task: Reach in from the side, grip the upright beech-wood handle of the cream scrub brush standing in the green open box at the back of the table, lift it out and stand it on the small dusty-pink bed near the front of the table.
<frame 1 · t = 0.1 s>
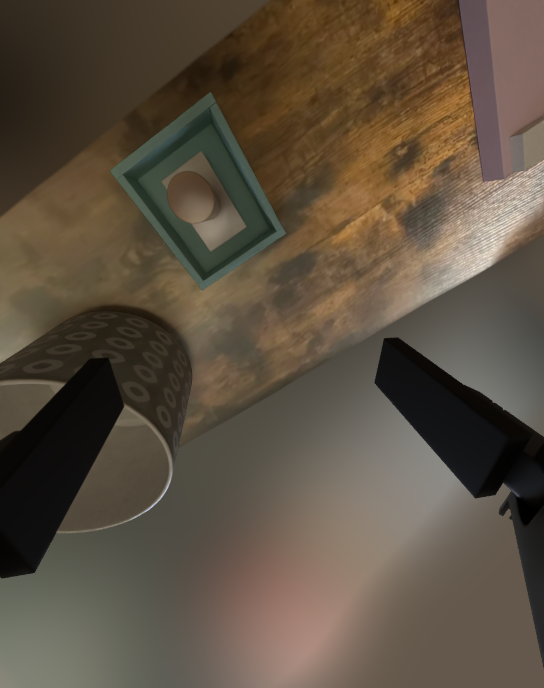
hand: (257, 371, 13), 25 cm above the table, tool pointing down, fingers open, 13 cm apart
planter: (129, 363, 39), on the table
bed: (512, 67, 30), on the table
green open box: (209, 206, 31), on the table
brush: (208, 206, 30), point 1 cm above the table, touching green open box
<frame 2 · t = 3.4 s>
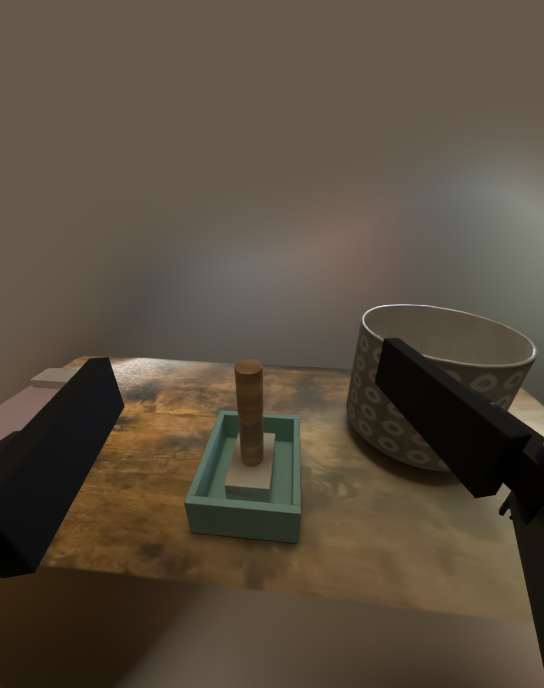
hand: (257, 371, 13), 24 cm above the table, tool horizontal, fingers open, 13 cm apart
planter: (404, 432, 41), on the table
bed: (31, 424, 42), on the table
green open box: (253, 479, 34), on the table
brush: (253, 475, 33), point 1 cm above the table, touching green open box
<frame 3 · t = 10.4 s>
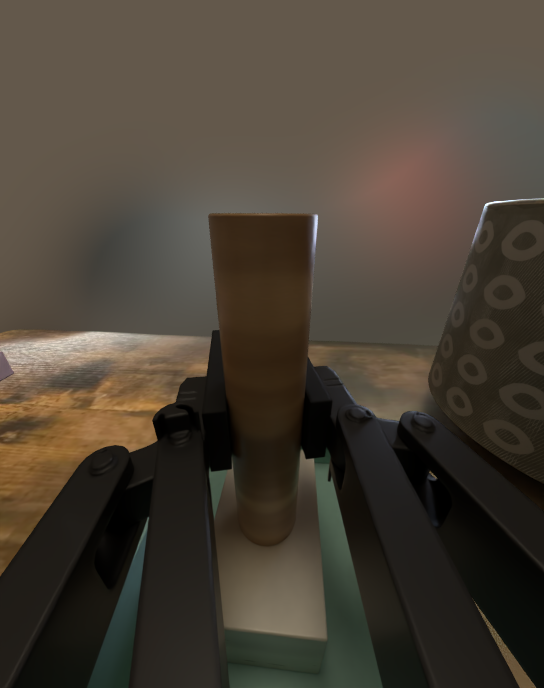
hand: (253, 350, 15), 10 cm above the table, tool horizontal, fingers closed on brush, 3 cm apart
planter: (542, 441, 22), on the table
green open box: (267, 560, 14), on the table
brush: (267, 552, 14), point 1 cm above the table, touching green open box, gripper
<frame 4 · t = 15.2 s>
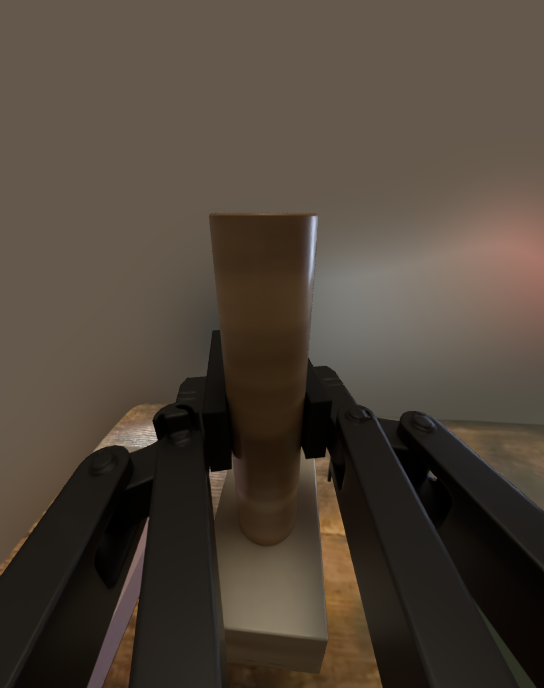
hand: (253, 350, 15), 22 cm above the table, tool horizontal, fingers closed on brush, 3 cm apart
bed: (93, 571, 23), on the table
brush: (267, 552, 14), point 12 cm above the table, touching gripper
when the fingers open (13 cm above the table, at t = 20.0 s): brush stays where it is, resting on bed.
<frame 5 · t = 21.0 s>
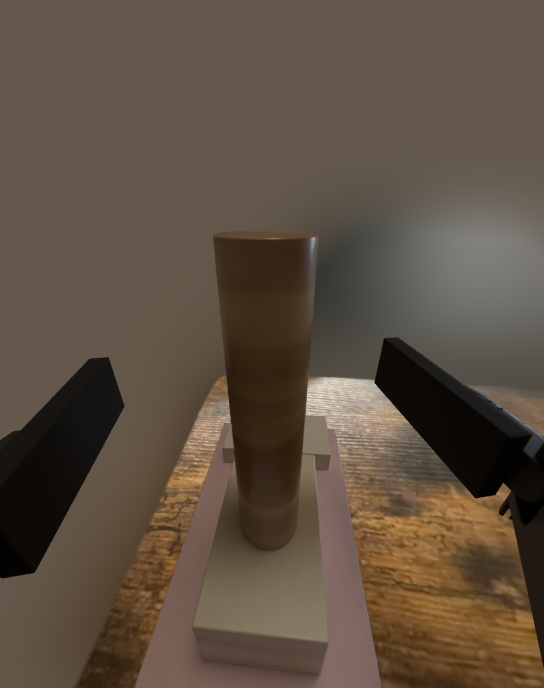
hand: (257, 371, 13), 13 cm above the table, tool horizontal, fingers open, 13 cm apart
bed: (268, 582, 16), on the table
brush: (269, 555, 14), point 3 cm above the table, touching bed
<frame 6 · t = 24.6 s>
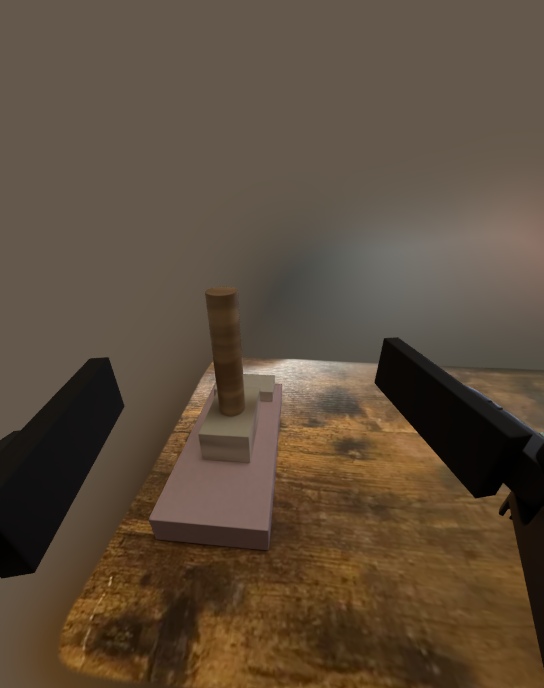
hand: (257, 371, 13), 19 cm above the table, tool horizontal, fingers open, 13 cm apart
bed: (235, 450, 31), on the table
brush: (234, 432, 30), point 3 cm above the table, touching bed
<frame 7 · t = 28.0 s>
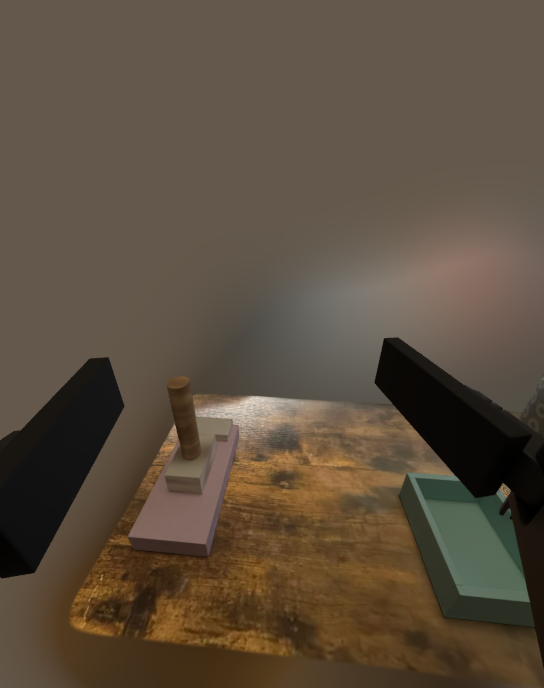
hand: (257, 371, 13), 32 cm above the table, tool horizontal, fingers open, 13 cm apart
bed: (197, 481, 42), on the table
green open box: (463, 549, 33), on the table
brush: (195, 468, 41), point 3 cm above the table, touching bed
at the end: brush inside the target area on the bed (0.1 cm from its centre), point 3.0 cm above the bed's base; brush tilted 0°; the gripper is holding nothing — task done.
